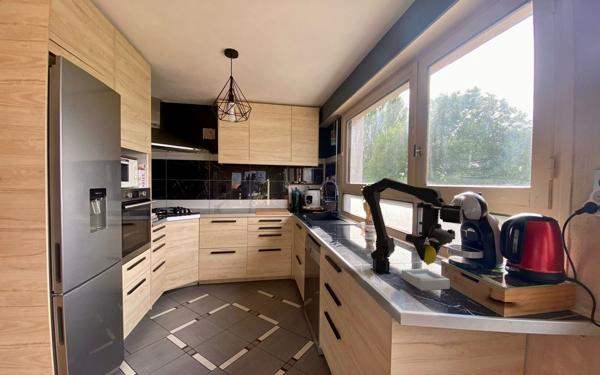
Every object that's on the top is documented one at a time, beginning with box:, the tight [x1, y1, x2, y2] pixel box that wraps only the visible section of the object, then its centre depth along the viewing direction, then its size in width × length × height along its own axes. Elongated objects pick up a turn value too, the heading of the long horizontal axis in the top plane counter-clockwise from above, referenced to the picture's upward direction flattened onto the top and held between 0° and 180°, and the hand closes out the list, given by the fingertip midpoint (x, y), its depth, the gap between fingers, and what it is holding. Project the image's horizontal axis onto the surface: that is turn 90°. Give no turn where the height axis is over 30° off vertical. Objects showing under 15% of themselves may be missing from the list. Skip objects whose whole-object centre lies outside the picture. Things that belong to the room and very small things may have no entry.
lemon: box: [422, 244, 437, 266], centre depth 92 cm, size 6×6×8 cm
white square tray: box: [401, 268, 451, 291], centre depth 93 cm, size 12×12×4 cm
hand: (427, 259), depth 92 cm, fingers closed on lemon, 5 cm apart
